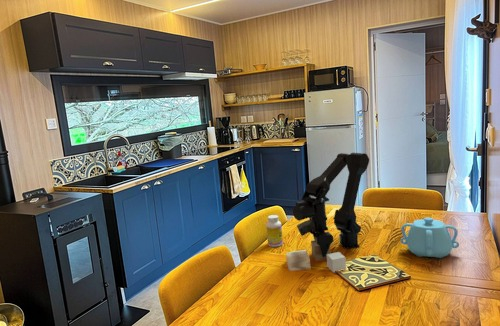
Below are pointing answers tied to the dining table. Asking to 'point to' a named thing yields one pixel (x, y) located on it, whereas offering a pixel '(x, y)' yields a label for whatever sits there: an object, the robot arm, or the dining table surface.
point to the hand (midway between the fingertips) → (320, 251)
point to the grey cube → (336, 261)
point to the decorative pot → (429, 238)
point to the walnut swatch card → (299, 251)
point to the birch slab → (298, 261)
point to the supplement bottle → (274, 231)
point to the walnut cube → (318, 251)
